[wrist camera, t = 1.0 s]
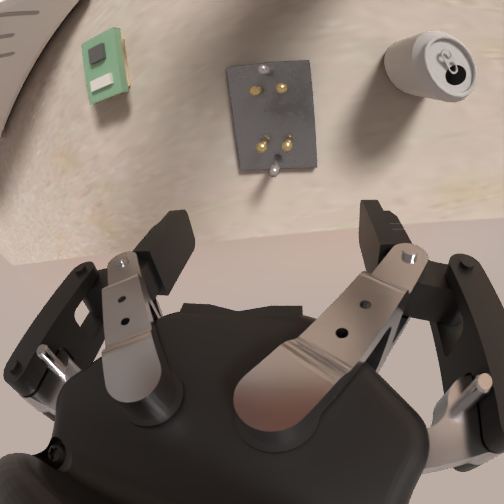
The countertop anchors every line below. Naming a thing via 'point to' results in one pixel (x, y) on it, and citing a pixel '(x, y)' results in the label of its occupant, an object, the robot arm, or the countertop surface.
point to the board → (104, 66)
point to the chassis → (273, 115)
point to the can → (432, 66)
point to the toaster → (24, 42)
